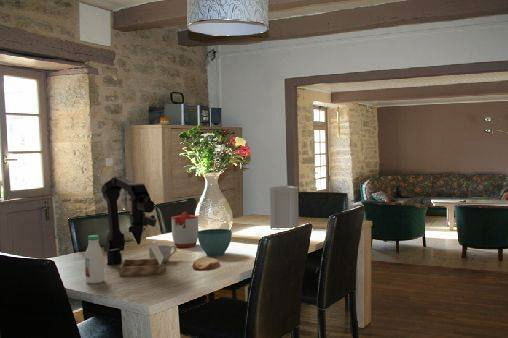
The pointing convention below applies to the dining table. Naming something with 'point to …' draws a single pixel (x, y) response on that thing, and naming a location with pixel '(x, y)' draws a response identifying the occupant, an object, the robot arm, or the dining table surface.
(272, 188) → the tall grey box
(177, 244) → the citrus juicer
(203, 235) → the teal bowl
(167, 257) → the teacup
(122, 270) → the wooden tray
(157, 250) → the grey flat panel
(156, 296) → the dining table surface
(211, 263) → the slice of bread
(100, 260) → the milk bottle
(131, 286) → the dining table surface
